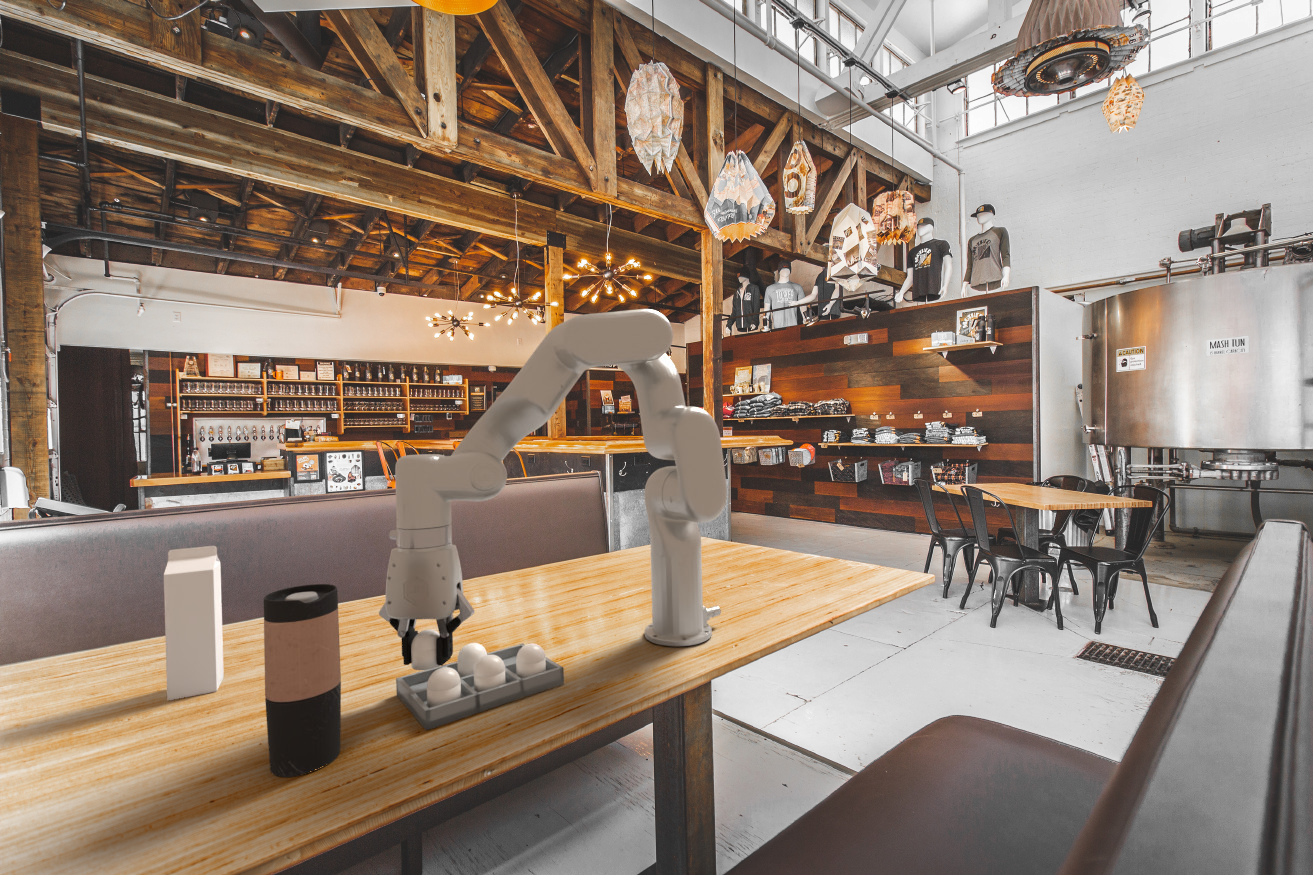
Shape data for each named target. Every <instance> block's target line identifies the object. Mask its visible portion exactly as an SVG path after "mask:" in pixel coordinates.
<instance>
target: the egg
mask: <svg viewBox="0 0 1313 875" xmlns="http://www.w3.org/2000/svg"><path fill="white" fill-rule="evenodd" d="M438 637H440V634H439V631H437V630H435V629H430V628H429V629H427V628H426V629H424V630H421V631H420V632H418V634H417V635H416V636H415V637H414V639H413V641H412V644H411V663H410V664H411V665H410V666H411V668H412V669H413V670H416V671H424V670H428V669H433V668H436V667H439V665H438V664H437V656H436V639H437V638H438Z"/></svg>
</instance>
